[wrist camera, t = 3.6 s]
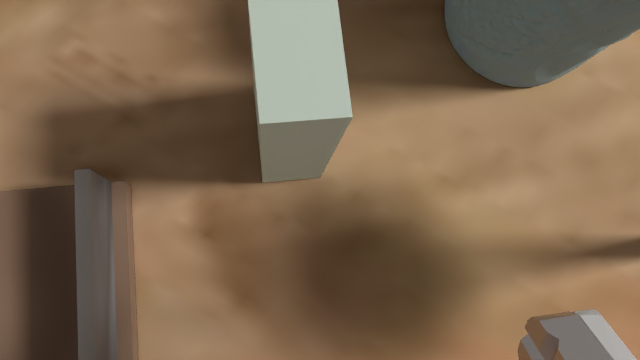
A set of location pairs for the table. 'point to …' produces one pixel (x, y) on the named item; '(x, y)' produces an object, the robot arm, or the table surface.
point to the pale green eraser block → (298, 85)
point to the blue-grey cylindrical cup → (535, 35)
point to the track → (68, 272)
